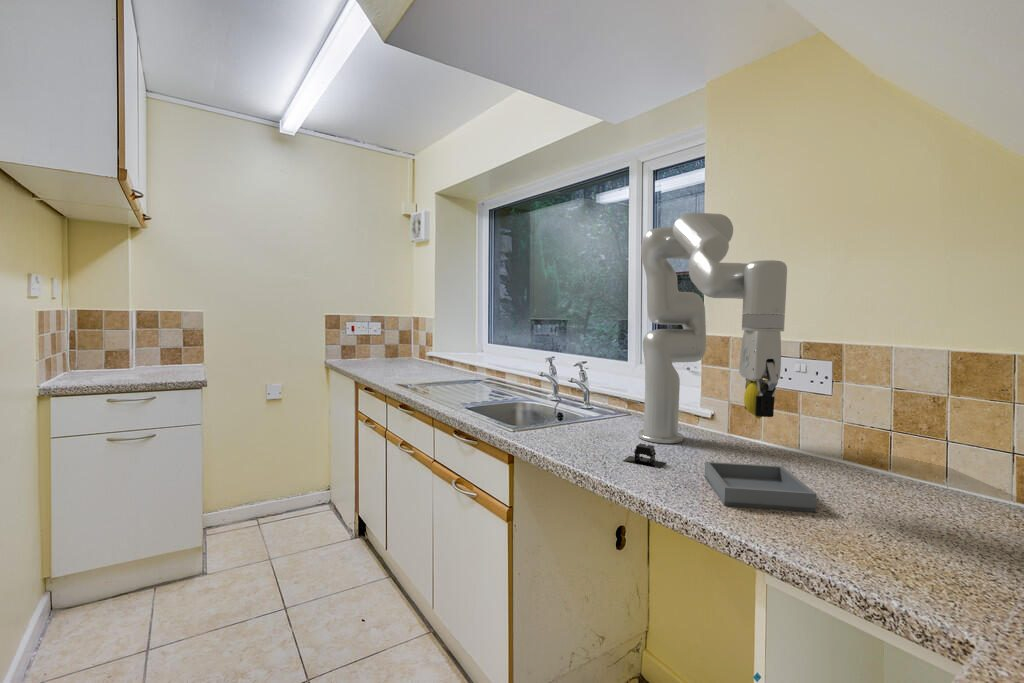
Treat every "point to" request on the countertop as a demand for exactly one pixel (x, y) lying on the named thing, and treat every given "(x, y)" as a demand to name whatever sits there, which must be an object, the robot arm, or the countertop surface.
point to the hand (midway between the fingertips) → (758, 412)
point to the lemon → (752, 397)
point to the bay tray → (759, 487)
